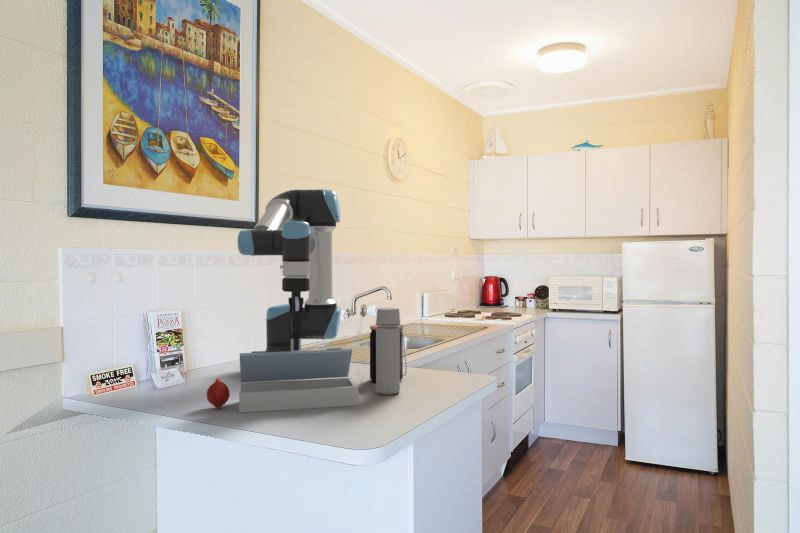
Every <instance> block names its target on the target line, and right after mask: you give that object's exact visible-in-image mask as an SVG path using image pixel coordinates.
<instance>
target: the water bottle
mask: <svg viewBox="0 0 800 533" xmlns="http://www.w3.org/2000/svg"><path fill="white" fill-rule="evenodd" d="M375 325H377V326H378V327H376V383H375V386H376V388H375V391H376V393H378V394H379V395H384V396H392V395H396V394H398V393H400V390H401V381H400V372H401V362H400V327H401V361H402V336H403V337H404V334H403V330H404V325H403V324H401V315H400V308H399V307H380V308H379V307H378V308H377V310H376V321H375ZM398 325H399V326H398ZM403 346H405V341H404V339H403ZM403 354H404V361H405V363H404V364H405V372H404V374H403V375H402V376H403V377H404V376H405V377H406V374H407V369H408V368H407V360H406V359H407V357H406V350H405V347H403ZM401 374H402V373H401Z"/></svg>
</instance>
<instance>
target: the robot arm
mask: <svg viewBox="0 0 800 533" xmlns="http://www.w3.org/2000/svg"><path fill="white" fill-rule="evenodd" d="M338 198H339V197H338V195H337V192H336V191H334V190H333V189H324V188H323V189H291V190H287V191H284V192H281V193H279V194H278V195H275V196H274V197H273V198H272V199H270V200H269V202H268V203H267V204H266V206H265V212H264V213H263V214H262V216H261V217H260V219H259V220H258V222H257V223H256V224H255V226H254V227H253V228H252V229H242V230H240V231H239V232H238V235H237V249H238V251H239V254H240V255H243V256H251V257H254V256H255V257H256V256H258V257H259V256H281V258H282V259H281V260H282V261H281V262H282V263H281V265H279V268H280V269H282V273H281V274H282V276H283V278H282V279H281V282H282V283H281V289H282V292H287V293H291V295H290V297H288V303H286V304H279V305H273V306H270V307H268V308H267V310H266V319H265V321H266V323H265V324H266V326H265V327H266V349H265V351H267V352H287V351H302V340H324V341H325V340H331V339H332V340H333V339H335V338H336V337H337V336H338V333H339V327H340V323H341V315H342V313H341V312H342V311H341V310H342V309H341V307H340V306H338V304H337V303H338V302H337V300H335V299H334V297H333V231H334V230H335V229H336V228H337V223H340V222H341V210H340V204H339V199H338ZM301 292H303V293H305V292H308V298H307V299H306V300H304V297H303V296H301V294H302V293H301Z"/></svg>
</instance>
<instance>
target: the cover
mask: <svg viewBox="0 0 800 533" xmlns="http://www.w3.org/2000/svg"><path fill="white" fill-rule="evenodd" d="M352 349H353V348H341V347H337V348H336V347H335V348H334V347H333V348H326V349H317V350H316V349H315V350H314V349H313V350H301V351H287V352H267V351H266V350H257V351H251V352H243V353H242V352H241V353H239V369H240V383H260V382H280V381H299V380H319V379H338V378H349V373H350V367H351V366H350V365H351V360H352V356H353V355H352V354H353V350H352Z"/></svg>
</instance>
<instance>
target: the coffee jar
mask: <svg viewBox="0 0 800 533" xmlns="http://www.w3.org/2000/svg"><path fill="white" fill-rule="evenodd" d="M398 326H399V325H398ZM376 327H378V326H377V325H376V324H370V326H369V328H370V331H371V332H370V333H369V378H370V380H371V381H372V383H374V384H376ZM401 331H402V330H401V327H400V362H401V372H400V382H401V381H402V379H403V378H404V376H402V375H404V371H403V370H404V369H403V368H404V366H403V364H404V363H403V362H404V361H403V360H404V358H403V354H404V345H403V340H404V335H403V336H402V361H401ZM401 373H402V374H401Z"/></svg>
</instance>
